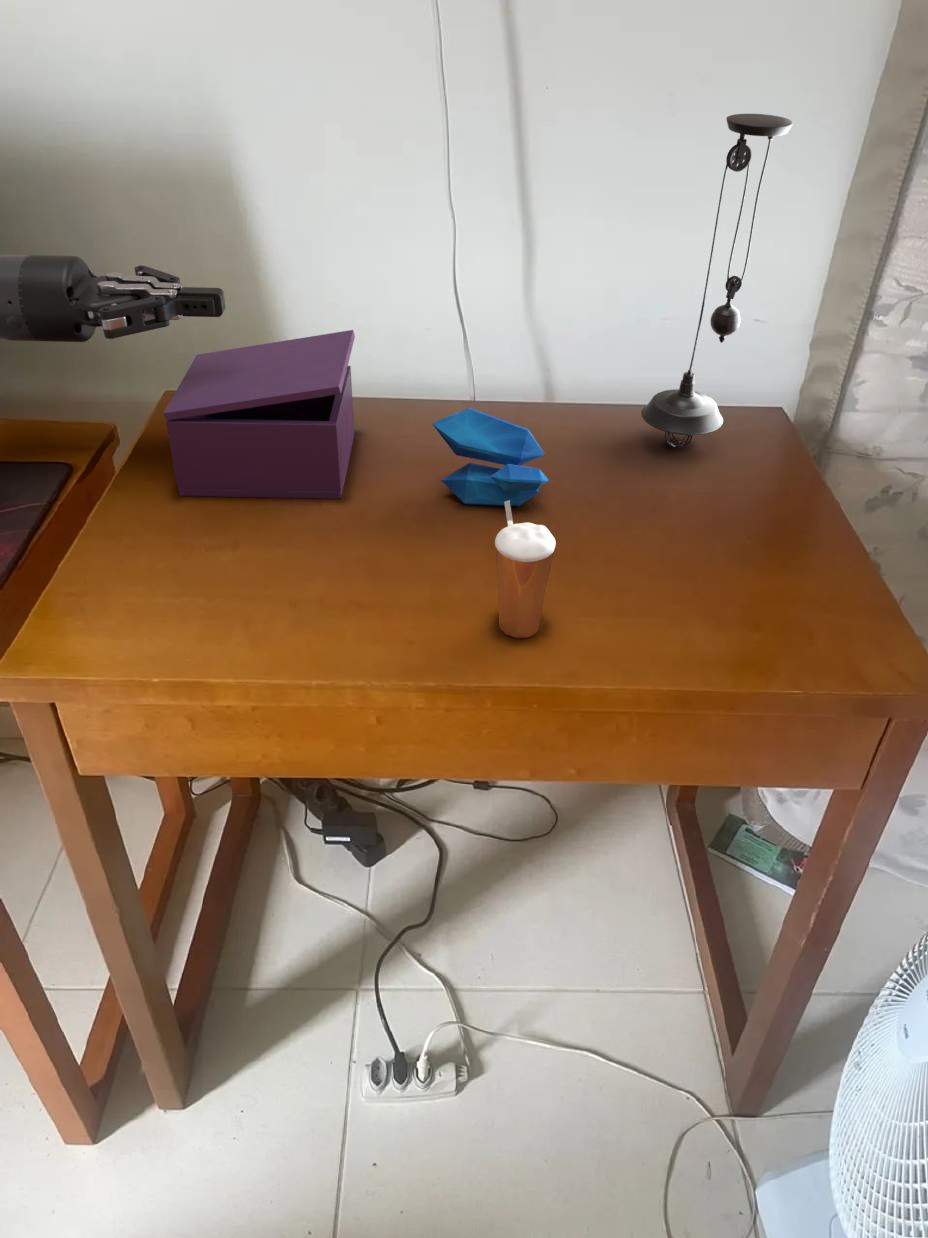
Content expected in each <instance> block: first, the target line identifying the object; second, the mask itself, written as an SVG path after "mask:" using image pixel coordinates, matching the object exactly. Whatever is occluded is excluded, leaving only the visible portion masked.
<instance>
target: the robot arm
mask: <svg viewBox="0 0 928 1238" xmlns="http://www.w3.org/2000/svg"><path fill="white" fill-rule="evenodd" d="M134 273H135V275H129V274H127V273H126V272H124V271H123V272H122V271H121V272H120V271H110V272H106V273H105V275H100V276H96V275H95V274H94V273H93V272H92V271H91V270H90V268H89V266H88V264H87V263H86V261H85V260H84V259H83V258H81V257H79V256H77V255H54V254H53V255H52V254H51V255H49V254H47V255H46V254H7V253H6V254H0V340H4V341H5V340H6V341H14V342H52V343H53V342H54V343H55V342H58V343H59V342H61V343H85V342H87V341H89V340H90V339H91V338H92V337H93V336H94V334H95V331H96V328H99V327H102V330H103V335H104V338H105V339H109V340H113V339H117V338H123V337H126V336H131V335H136V334H139V333H144V332H149V331H152V330H158V329H162V328H166V327H169V326H170V324H171V323H170V321H178V320H181V319H182V317H189V318H191V317H193V318H194V317H195V318H196V317H197V318H200V317H201V318H220V317H222V316H223V314H224V311H225V310H226V301H225V300H226V299H225V292H224V291H223V289H222V288H220V287H203V286H202V287H199V286H198V287H197V286H196V287H194V286H183V284H182V283H181V279H180V277H179V276H176V275H173V274H170V273H166V272H164V271H162V270H158V269H155V268H152V267H149V266H146V265H142V264H140V265H137V266H134Z"/></svg>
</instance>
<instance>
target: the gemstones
mask: <svg viewBox="0 0 928 1238" xmlns="http://www.w3.org/2000/svg"><path fill="white" fill-rule="evenodd" d="M431 425H432V426H433V427H434V428H435V430H436V431H437V433H438V434H439V435H440V437H442V439H443V440H444V442H445V443H446V444H447V445H448V447H449V448H450V449H451V451H452V452H453V453H454V455H455V456H457V457H461V458H462V457H463V458H469V459H473V460H479V461H484V462H488V463H494V464H497V465H504V466H503V467H501V468H499V467H494V466H489V465H483V464H478V463H473V462H468V463H467V464H465V465H464V466H462V467H461V468H459V469H456V470H455V471H453V472H452V473H451V474H449V475H447V476H445V477H444V478H442V479H441V480H440V481H441V482H442V484H444V485H445V487H447V488H448V490H450V491H451V492H452V493H453V494H454V495H455V496H456V497H457V499H459V500H460V501H461V502H462V503H463V505H476V506H502V507H505V503H504V502H505V501H510V506H511V507H520V506H521V505H522V504H524V503H526V502H527V501H529V500H530V499H532V498H533V497H535V496H536V495H538V494H540V493H541V490H540V488H541V487H542V486H544V485H545V484H546V483H547V482H549V481H550V479H549V478H548V477H547V476H546V475H545V474H544V472H543V471H542V470H541V468H539V467H531V466H525V465H524V464H526V463H529V462H532V461H534V460H536V459H539V458H541V457H544V456H546V454H545V451H544V450H543V449H542V447H541V446H540V444H539V442H538V441H537V440H536V438H535V437H534V435H533V434H532V432H531V431H530V430H529V428H527V427H523V426H521V425H518V424H515V423H513V422H511V421H508V420H504V419H502V418H499V417H496V416H493V415H491V414H488V413H486V412H483V411H480V410H477V409H474V408H471V407H468V408H464V409H462V410H460V411H458V412H456V413H453V414H451V415H448V416H446V417H443V418H441V419H438V420H436V421H434V422H431Z"/></svg>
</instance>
